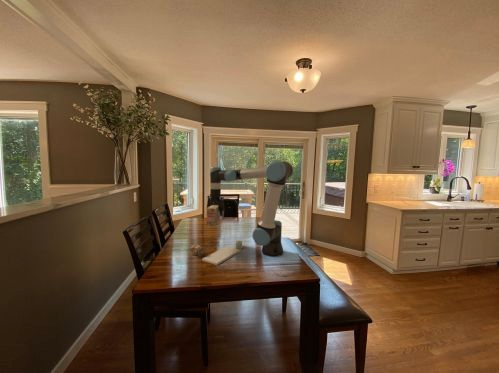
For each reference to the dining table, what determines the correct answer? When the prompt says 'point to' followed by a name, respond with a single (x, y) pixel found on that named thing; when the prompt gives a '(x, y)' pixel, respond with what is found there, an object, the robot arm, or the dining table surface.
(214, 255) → the board
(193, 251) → the oak cube
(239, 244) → the sage block
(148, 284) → the dining table surface
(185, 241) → the dining table surface
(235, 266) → the dining table surface
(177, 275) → the dining table surface
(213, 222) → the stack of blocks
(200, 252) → the walnut cylinder
